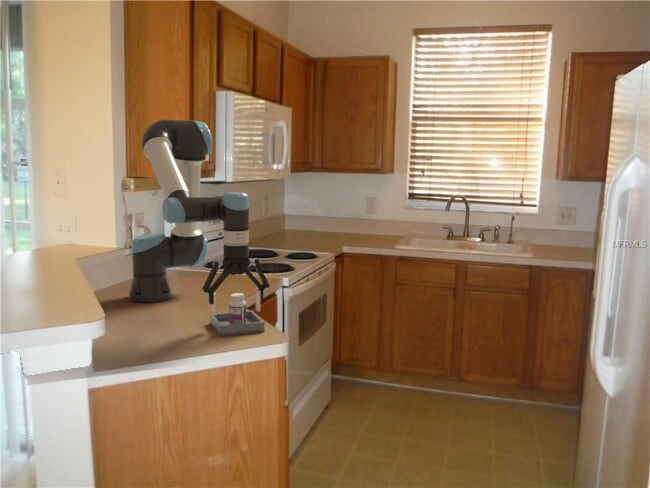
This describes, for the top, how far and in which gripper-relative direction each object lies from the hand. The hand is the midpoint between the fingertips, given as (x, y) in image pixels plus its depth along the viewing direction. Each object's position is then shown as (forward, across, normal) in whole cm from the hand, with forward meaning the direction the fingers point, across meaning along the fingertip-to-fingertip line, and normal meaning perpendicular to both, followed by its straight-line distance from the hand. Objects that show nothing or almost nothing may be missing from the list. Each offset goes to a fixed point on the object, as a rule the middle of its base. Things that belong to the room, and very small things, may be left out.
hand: (236, 312), depth 173 cm
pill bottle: (+4, 0, 0) cm, 4 cm away
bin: (+5, 0, 0) cm, 5 cm away
